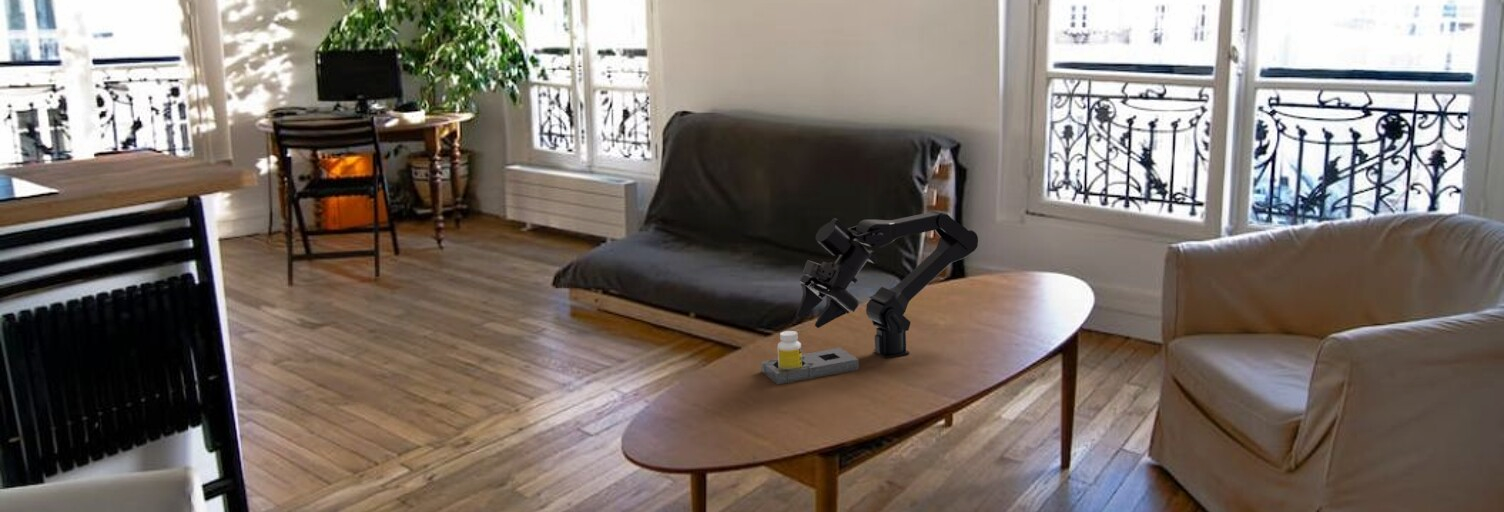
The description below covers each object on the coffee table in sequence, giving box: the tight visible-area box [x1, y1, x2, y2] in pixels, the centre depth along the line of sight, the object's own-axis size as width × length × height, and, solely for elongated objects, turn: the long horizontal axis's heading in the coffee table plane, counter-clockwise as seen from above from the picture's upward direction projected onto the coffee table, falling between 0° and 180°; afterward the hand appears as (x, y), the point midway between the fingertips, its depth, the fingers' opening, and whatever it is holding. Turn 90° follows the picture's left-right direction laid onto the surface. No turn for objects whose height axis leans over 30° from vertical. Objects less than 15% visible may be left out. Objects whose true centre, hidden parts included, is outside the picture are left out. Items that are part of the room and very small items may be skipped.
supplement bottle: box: [777, 330, 802, 369], centre depth 269 cm, size 5×5×10 cm
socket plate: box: [760, 347, 860, 385], centre depth 271 cm, size 20×10×2 cm, turn 110°
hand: (806, 322), depth 269 cm, fingers open, 9 cm apart
